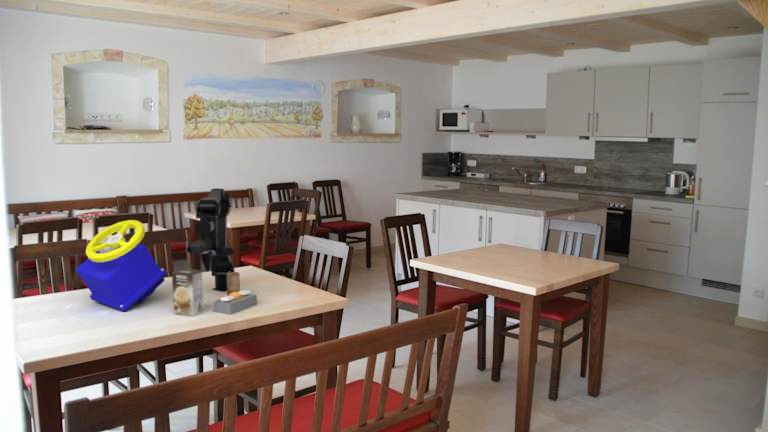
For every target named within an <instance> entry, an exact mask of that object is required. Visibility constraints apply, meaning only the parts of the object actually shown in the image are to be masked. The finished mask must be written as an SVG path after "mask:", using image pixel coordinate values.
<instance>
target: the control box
mask: <svg viewBox="0 0 768 432" xmlns="http://www.w3.org/2000/svg"><path fill="white" fill-rule="evenodd" d="M129 229H134V230H136V231H135V233H134V234H133V236H132V237H131V238H130V239H129V240H128V239H125V237H124V235H125V234H126V232H127V231H128V230H129ZM112 234H113V235H112ZM145 234H146V229H145V226H144V225H143V223H142V222H140V221H139V220H135V219H128V220H124V221H119V222H116V223H114V224H112V225H109V226H108V227H106V228H104V229H102V230H101V231H100V232H98V233H97V234H95V236H93V238H92V239H91V240H90V241H89V243H88V244H87V245H86V247H85V255H86V256H87V258H88V259H86V260H85V261H84V262H82V263H81V264H80V265H79V266H78V267H76V269H75V272H76V273H77V274H78V277H80V279H81V280H82V282H83V283H84V284H85V286H86V287H87V289H88V290H89V291H90V293H89V298H90V300H92V301H93V302H97V303H100V304H103V305H104V306H107V307H110V308H112V309H115V310H118V311H120V312H123V313H126V312H127V311H128V310H130V308H131V307H132V306H134V305H135V304H136V303H137V302H139V303H142V302H143V301H144V300H145V299H146V298H147V297H149V296H152V295H153V294H154V293H155V292H156V290H157V288H158V287H160V285H161V284H163V283H164V282H165V278H164V277H165V276H166V275H168V272H167V271H166V269H164V268H163V267H162V268H161V267H159V265H158V264H157V262H156V260H155V259H154V257H153V256H152V254H151V252H150V251H149V249H148V248H147V246H146V244H141V242H142V240H143V238H144V236H145ZM110 235H111V236H110ZM107 237H109V238H108V239H107V240H106V241H105V242H102V241H104V240H105V239H106V238H107ZM101 242H102V243H101Z"/></svg>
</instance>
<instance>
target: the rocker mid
mask: <svg viewBox="0 0 768 432" xmlns="http://www.w3.org/2000/svg"><path fill="white" fill-rule="evenodd" d="M229 296H234V299H238V298H241V297H242V294H240V293H237V292H233V293H230V294H229Z"/></svg>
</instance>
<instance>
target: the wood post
mask: <svg viewBox="0 0 768 432" xmlns="http://www.w3.org/2000/svg"><path fill="white" fill-rule="evenodd" d="M229 272H230V271H229ZM240 280H241V279H240V272H238V271H235V272H230V273H227V294H226V296H229V294H230V293H233V292H239V291H241V287H240V286H241V283H240V282H241V281H240Z"/></svg>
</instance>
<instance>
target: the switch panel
mask: <svg viewBox="0 0 768 432" xmlns="http://www.w3.org/2000/svg"><path fill="white" fill-rule="evenodd" d="M257 305H258V295H257V294H255V293H249V294H246V295H242V297H241V298H238V299H232V300H229V301H221V298H220V299H217V300H214V301H213V313H214V312H215V313H220V314H225V315H234V314H237V313H239V312H241V311H244V310H247V309H249V308H253V307H254V306H257Z"/></svg>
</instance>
